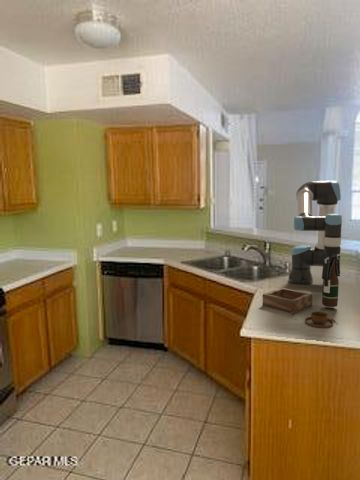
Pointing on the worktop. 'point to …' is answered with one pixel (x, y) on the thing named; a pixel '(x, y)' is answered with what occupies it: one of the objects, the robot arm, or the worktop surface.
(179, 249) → the worktop surface
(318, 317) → the brown cup and saucer
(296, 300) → the caddy
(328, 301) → the beer bottle
